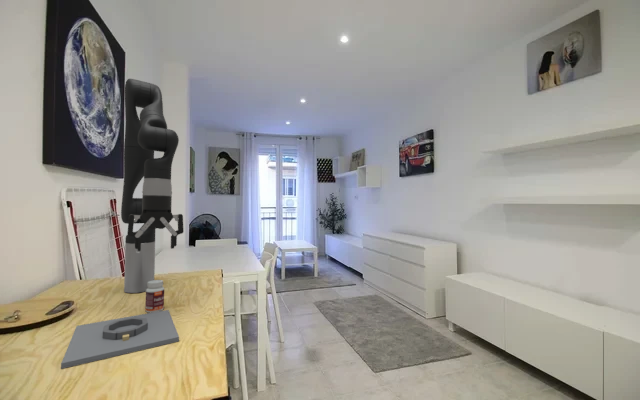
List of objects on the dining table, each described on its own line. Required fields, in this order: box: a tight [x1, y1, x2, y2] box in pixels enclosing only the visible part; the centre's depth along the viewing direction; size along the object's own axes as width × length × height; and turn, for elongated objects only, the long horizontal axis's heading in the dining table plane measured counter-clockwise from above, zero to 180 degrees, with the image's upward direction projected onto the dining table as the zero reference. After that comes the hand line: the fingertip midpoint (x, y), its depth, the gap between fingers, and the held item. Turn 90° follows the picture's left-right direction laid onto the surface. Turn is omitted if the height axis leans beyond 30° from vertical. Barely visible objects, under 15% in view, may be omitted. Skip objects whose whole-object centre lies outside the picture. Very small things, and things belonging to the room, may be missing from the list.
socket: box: [60, 309, 180, 369], centre depth 67 cm, size 20×20×2 cm
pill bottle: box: [144, 279, 165, 313], centre depth 83 cm, size 5×5×8 cm
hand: (156, 249), depth 84 cm, fingers open, 8 cm apart
